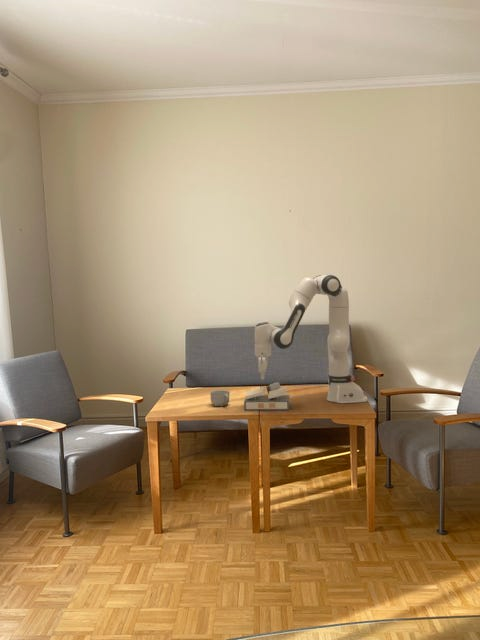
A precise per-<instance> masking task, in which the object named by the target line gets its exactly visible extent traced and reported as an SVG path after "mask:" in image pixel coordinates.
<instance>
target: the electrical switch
mask: <svg viewBox="0 0 480 640" xmlns="http://www.w3.org/2000/svg"><path fill="white" fill-rule="evenodd" d="M280 388H282V387H281V384H280V382H278V381H277V382H274V383H271V384H269V385H268V386H266V387H265V389H266V391H267V395H268V394H269V392H270V391H273V390H277V389H280Z"/></svg>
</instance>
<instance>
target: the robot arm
mask: <svg viewBox="0 0 480 640" xmlns="http://www.w3.org/2000/svg"><path fill="white" fill-rule="evenodd" d="M317 294H318V295H324V296H327V298H328V329H329V333H328V335H327V354H328V355H327V356H328V377H327V381H328V383H327V384H328V390H327V391H328V393H327V397H326V400H327V401H329V402H332V403H337V404H351V403H366V402H367V401H368V397H367V396H366V395H364V391H363V389H362V387H360V385H358V384H357V383H355V382H354V380H355V378H354V376H352V375H351V374H350V370H349V369H350V365H349V364H350V361H349V355H348V353H349V351H348V349H349V348H350V345H351V344H350V343H351V342H350V341H351V339H350V338H351V337H350V336H351V335H350V321H349V320H350V314H349V313H350V301H349V300H350V299H349V292H348V289H346V288H345V287H343V286H342V283H341V281H340V279H339V278H338V277H337V276H335V275H333V274H320V275H319V274H318V275H316V276H314V277H309V276H308V277H307V276H306V277H305V276H304V277H303V278H302V280H300V282H299V283H298V284H297V286H296V287H295V289H293V292H292V293H291V295H290V298H289V301H288V305H289V307H290V314H289V316H288V318H287V321H286V322H285V324H284V325H283V327H282V328H281V327H277V326H275V325H272V324H271V323H270V322H269V321H268V322H266V321H265V322H259V323H257V324H256V325H255V327H254V357H256V358H257V360H258V366H257V367H258V370H257V371H258V373H260V380H265V377H266V374H267V373H266V372H267V371H266V370H267V368H268V364H269V358H270V357H271V356H272V345H274V346H276V347H278V348H279V349H283V350H284V349H288V348H289V347H291V346H292V344H293V343H294V337H295V334H296V331H297V329H298V327H299V325H300V323H301V321H302V319H303V316H304V315H305V313H306V311H307V308H308V307H309V305H310V303H311V302H312V300H313V298H314V297H315V296H316V295H317Z"/></svg>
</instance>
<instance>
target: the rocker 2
mask: <svg viewBox="0 0 480 640" xmlns="http://www.w3.org/2000/svg"><path fill="white" fill-rule="evenodd" d="M287 393H288V388H287V386H284V387H281V388H280V389H277V390H273V391H270V392H269V394H268V393H267V395H268V398H269V399H271V398H274V397H278V396H281V395H288V394H287Z"/></svg>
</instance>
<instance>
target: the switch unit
mask: <svg viewBox="0 0 480 640" xmlns="http://www.w3.org/2000/svg"><path fill="white" fill-rule="evenodd" d="M290 398H291V397H290V394H285V395H281V396H278V397H274V398H271V399H269V398H268V394H267V395H265V394H264V395H260V396H256V397H253V398H249V399H246V397H244V401H243V406H244V407H243V409H244V412H245V411H290V406H291V405H290V404H291V402H290V400H291V399H290Z"/></svg>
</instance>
